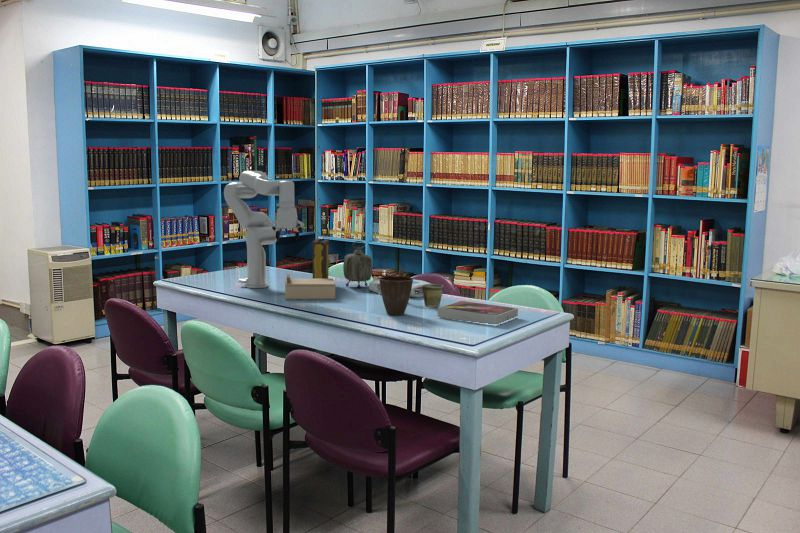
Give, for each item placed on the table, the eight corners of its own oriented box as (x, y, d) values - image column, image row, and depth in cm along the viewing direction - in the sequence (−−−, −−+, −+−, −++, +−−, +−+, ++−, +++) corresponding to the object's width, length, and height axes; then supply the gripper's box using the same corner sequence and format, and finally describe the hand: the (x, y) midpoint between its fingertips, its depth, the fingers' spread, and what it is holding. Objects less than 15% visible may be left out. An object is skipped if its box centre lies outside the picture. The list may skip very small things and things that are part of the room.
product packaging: (496, 327, 294) (496, 316, 294) (437, 318, 310) (437, 307, 309) (517, 319, 312) (518, 308, 312) (461, 311, 328) (461, 300, 327)
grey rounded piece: (368, 285, 391) (369, 240, 388) (373, 288, 383) (374, 241, 379) (342, 286, 387) (343, 240, 383) (347, 288, 378) (347, 242, 375)
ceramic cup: (439, 309, 328) (439, 288, 327) (418, 307, 332) (419, 286, 330) (447, 304, 340) (447, 284, 339) (427, 302, 344) (428, 282, 342)
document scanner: (410, 299, 354) (410, 286, 353) (368, 292, 371) (368, 280, 370) (435, 294, 370) (435, 282, 369) (393, 287, 387) (393, 276, 387)
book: (326, 290, 372) (326, 242, 369) (309, 289, 373) (310, 242, 369) (330, 283, 394) (331, 238, 391) (315, 283, 394) (316, 238, 391)
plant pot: (371, 313, 314) (372, 277, 312) (394, 309, 325) (395, 274, 323) (396, 318, 304) (397, 282, 302) (418, 314, 315) (420, 278, 313)
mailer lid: (285, 285, 341) (285, 278, 341) (285, 280, 359) (285, 273, 358) (335, 285, 345) (335, 278, 345) (332, 280, 363) (332, 273, 362)
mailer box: (285, 299, 342) (285, 286, 341) (285, 293, 360) (285, 280, 359) (335, 299, 346) (335, 286, 345) (332, 293, 364) (332, 280, 363)
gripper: (267, 205, 352) (268, 240, 354) (301, 206, 349) (302, 240, 351) (272, 205, 359) (273, 239, 361) (305, 205, 357) (306, 239, 359)
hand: (287, 239), depth 356 cm, fingers open, 9 cm apart
